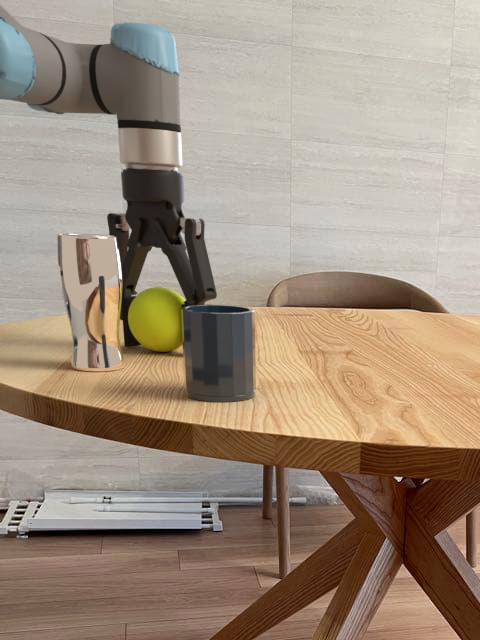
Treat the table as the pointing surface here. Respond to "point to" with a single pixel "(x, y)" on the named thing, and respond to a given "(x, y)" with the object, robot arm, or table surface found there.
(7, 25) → the robot arm
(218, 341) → the cup
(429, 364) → the table surface
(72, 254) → the beer glass
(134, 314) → the ball
